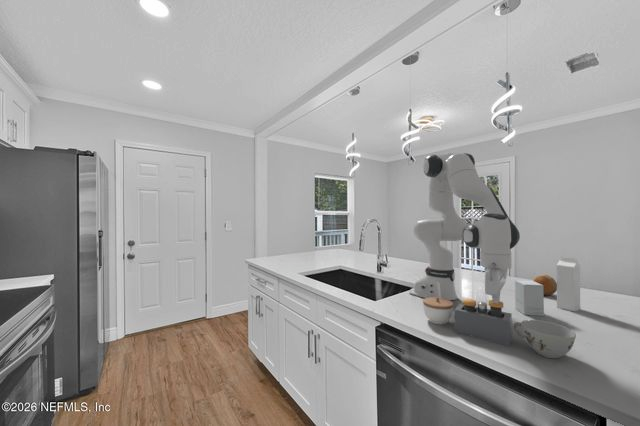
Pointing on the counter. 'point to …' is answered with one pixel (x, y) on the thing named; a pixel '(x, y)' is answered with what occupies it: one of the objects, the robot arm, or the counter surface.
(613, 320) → the counter surface
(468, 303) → the knob left
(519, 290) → the supplement box
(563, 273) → the milk
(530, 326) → the teacup
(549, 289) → the onion
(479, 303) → the shiny silver ball
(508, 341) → the mount
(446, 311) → the lidded jar
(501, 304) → the knob right
